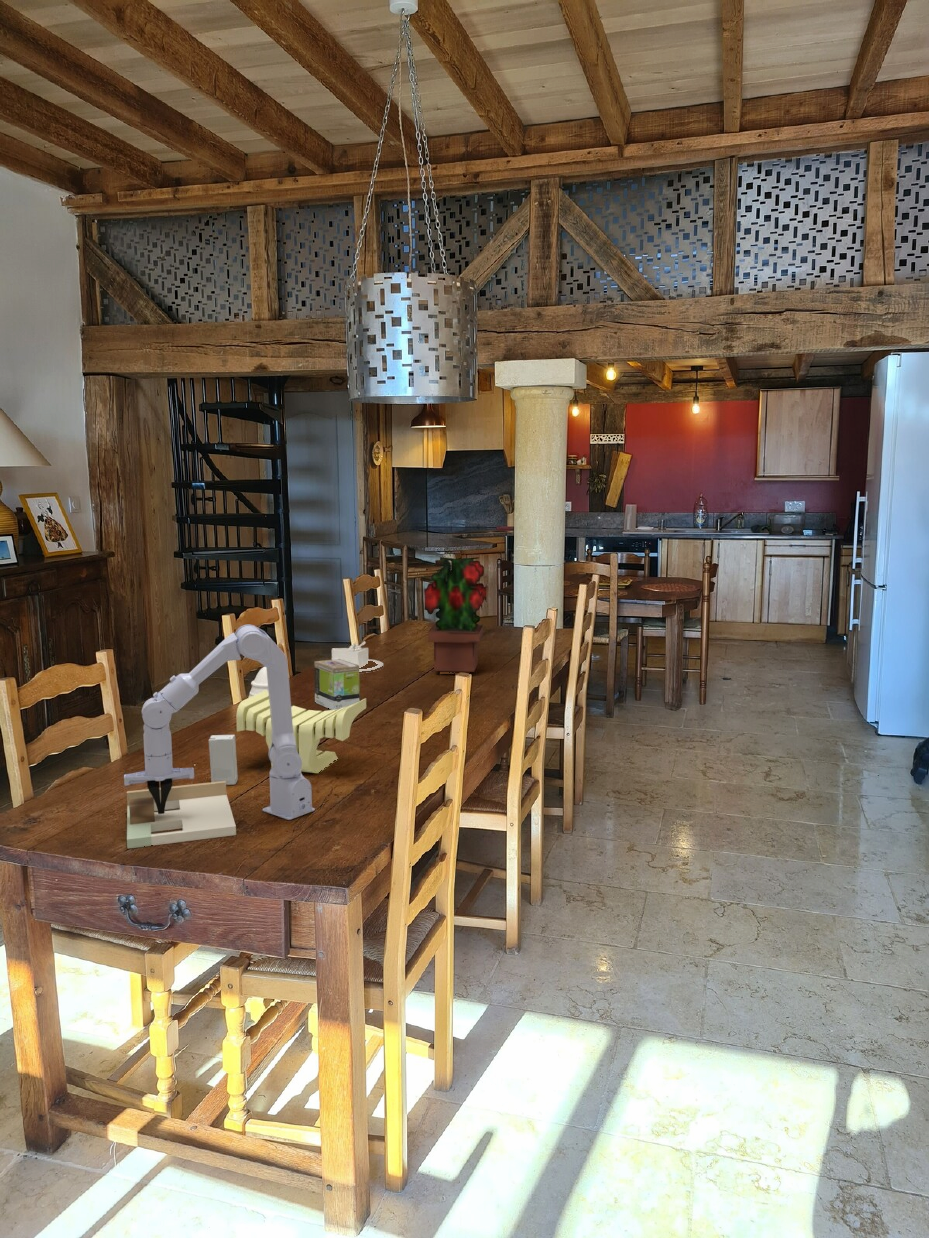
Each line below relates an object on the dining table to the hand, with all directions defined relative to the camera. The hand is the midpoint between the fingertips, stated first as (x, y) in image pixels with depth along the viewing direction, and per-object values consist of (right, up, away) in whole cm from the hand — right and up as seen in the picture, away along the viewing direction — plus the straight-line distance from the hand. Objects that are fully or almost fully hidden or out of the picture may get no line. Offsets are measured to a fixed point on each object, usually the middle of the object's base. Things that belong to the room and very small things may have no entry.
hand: (161, 812), depth 200 cm
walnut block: (-4, -1, -1) cm, 4 cm away
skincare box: (+6, +1, +28) cm, 29 cm away
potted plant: (+64, +21, +160) cm, 173 cm away
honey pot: (+4, +11, +91) cm, 92 cm away
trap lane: (+4, -3, +2) cm, 5 cm away
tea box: (+24, +13, +107) cm, 110 cm away
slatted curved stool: (+24, +3, +43) cm, 49 cm away
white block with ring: (+22, +23, +169) cm, 172 cm away
